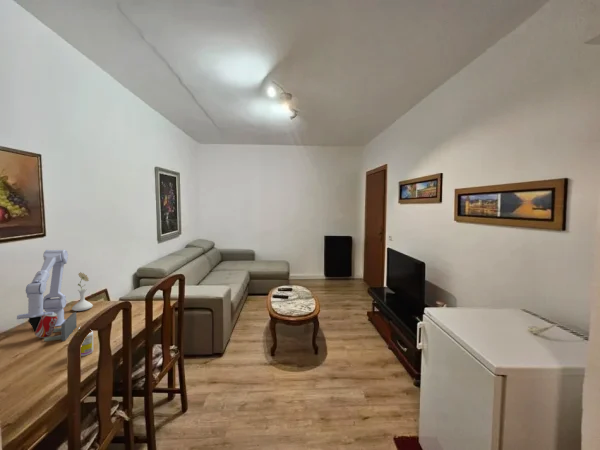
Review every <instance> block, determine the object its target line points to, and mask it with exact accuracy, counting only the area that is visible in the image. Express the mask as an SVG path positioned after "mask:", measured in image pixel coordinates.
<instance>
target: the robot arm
mask: <svg viewBox="0 0 600 450" xmlns="http://www.w3.org/2000/svg"><path fill="white" fill-rule="evenodd" d="M42 258H43V260H44V261H43V263H42V266H41V269H40V270H39V271H37V272H36V274H35V275H34V277H33V279H32V281H31V282H30V283H29V284H27V285H26V288H25V294H26V297H27V298H28V300H27V301H28V303H27V305H28V306H27V308H28V310H27V311H28V312H27V313H23V314H22V313H21V314H18V315H16V320H21V319H23V320H24V319H28V320H27V321H28V323H29V324H30V325H31V327H32V329H33V333H35V331H36V328H37V326H38V323H39V321H40V319H41V317H42V316H44V313H45V312H47V313H45V315H53V314H54V312H55V313H57V314H58V315H57V316H58V319H57V322H56V324H55V327H61V324H62V323H63V322H64V321H65V320H66V319H67V318H66V319H65V310H64V308H65V307H66V306H67V300H66V299H67V296H66V295H65V294H64V293H63V292H61V291H62V283H63V281H62V280H63V274H64V266H65V264H67V263H68V260H69V259H68V258H69V254H68V251H67V250H66V249H46V250H45V251H43V256H42ZM51 270H52V272H51V274H50V271H51ZM50 276H51V278H50ZM49 278H50V286H49V293H48V294H46V295H44V293H45V292H46V290H47V285H48V284H47V282H48V280H49Z"/></svg>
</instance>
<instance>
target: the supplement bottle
mask: <svg viewBox="0 0 600 450" xmlns="http://www.w3.org/2000/svg"><path fill="white" fill-rule="evenodd" d="M80 327H81V326H79V327H78V330H79V329H80ZM91 331H92V332H91V333H89V334H88V335H87V337H86V338H85V340H84V342H83V344H82V347H81V356H80V357H84V356H87V355H91V354H92V353H93V352H94V331H93V330H91Z"/></svg>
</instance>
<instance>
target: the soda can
mask: <svg viewBox="0 0 600 450" xmlns="http://www.w3.org/2000/svg"><path fill="white" fill-rule="evenodd" d="M44 312H45V313H47V312H46V311H44ZM45 313H44V316H42V317H41V319H40V321H39V323H38V326H37V328H36V331H35V332H34V335H35V336H36V338H40V339H41V338H43V339H44V338H45V337H50V336H51V335H52V334H53V329H55V327H56V326H55V324H56V322H57V319H58V316H57V315H58V314H57V313H55V312H54V314H53V315H45Z"/></svg>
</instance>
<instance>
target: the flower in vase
mask: <svg viewBox="0 0 600 450" xmlns="http://www.w3.org/2000/svg"><path fill="white" fill-rule="evenodd" d="M78 276H79V278H80V282H79V283H78V284H77V286H79V287H80V288H79V289H77V291H78V292H79V295H80V297H79V301H78V302H76V303H75V304H73V306H71V307H72V308H71V310H72V311H75V312H77V311H78V312H81V311H88V310H89V309H91V308H93V306H94V305H93V303H91V302H90V301H88V300H86V299H85V295H86V291H87V289H88V288H83V287H85V286H86V284H84V285H81V283H82V280H83V281H84V282H89V281H90V280H89V279H90V278H89V277H88V274H85V273H84V272H81V271H80V272H78Z"/></svg>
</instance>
